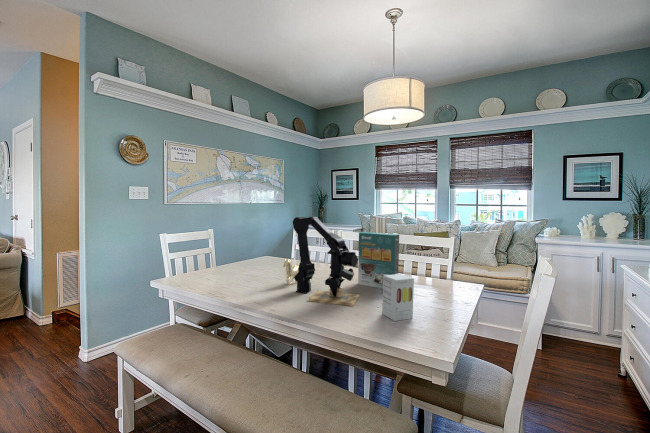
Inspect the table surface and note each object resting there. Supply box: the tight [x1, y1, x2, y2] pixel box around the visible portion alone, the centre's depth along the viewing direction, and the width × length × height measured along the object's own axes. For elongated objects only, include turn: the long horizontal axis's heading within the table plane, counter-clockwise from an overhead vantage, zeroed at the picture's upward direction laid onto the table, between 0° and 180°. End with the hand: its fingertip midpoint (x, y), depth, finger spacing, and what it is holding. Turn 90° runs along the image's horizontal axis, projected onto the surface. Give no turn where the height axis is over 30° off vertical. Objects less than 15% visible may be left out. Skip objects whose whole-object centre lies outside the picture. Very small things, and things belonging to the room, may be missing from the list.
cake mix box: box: [357, 231, 400, 289], centre depth 175 cm, size 22×6×30 cm, turn 58°
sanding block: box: [328, 287, 344, 299], centre depth 151 cm, size 6×4×4 cm, turn 73°
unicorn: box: [282, 258, 300, 286], centre depth 177 cm, size 20×4×17 cm, turn 156°
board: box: [307, 290, 360, 307], centre depth 151 cm, size 22×14×1 cm, turn 73°
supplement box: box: [381, 273, 415, 322], centre depth 129 cm, size 10×9×17 cm
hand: (336, 295), depth 151 cm, fingers closed on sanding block, 4 cm apart
